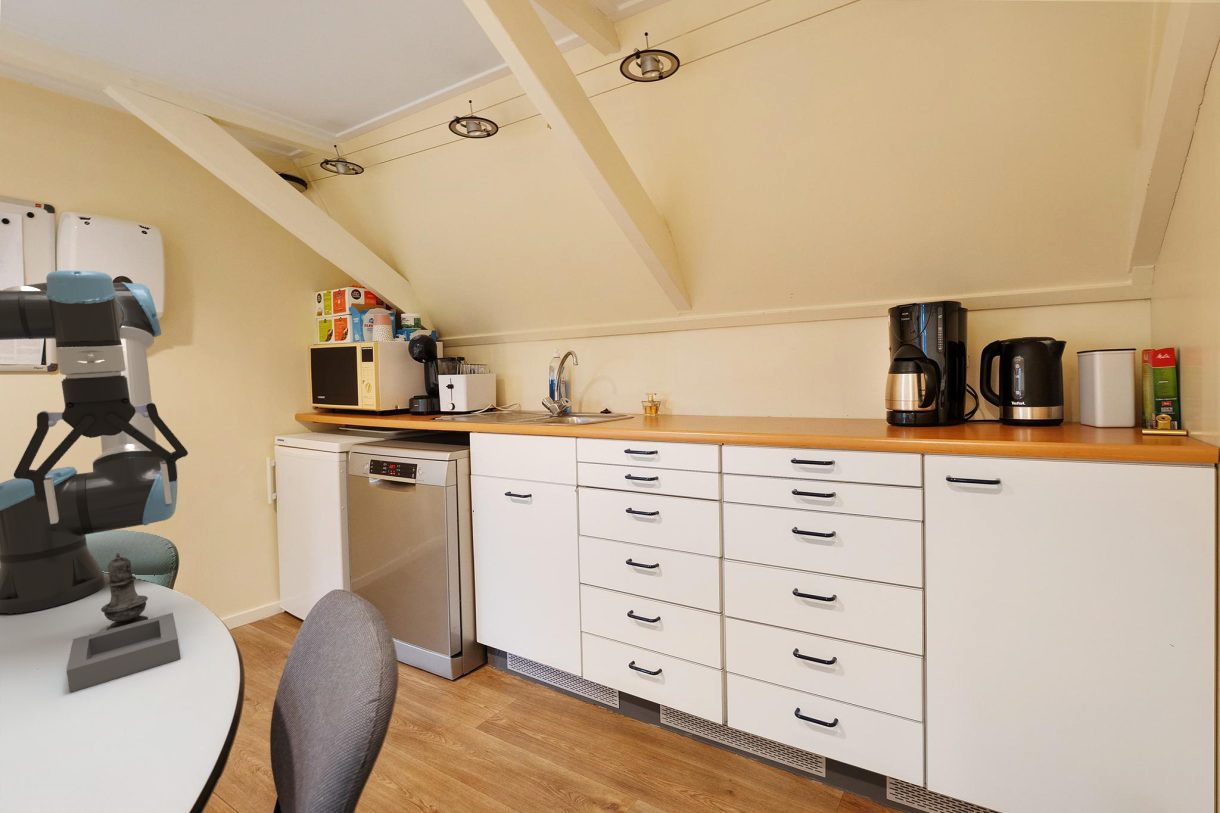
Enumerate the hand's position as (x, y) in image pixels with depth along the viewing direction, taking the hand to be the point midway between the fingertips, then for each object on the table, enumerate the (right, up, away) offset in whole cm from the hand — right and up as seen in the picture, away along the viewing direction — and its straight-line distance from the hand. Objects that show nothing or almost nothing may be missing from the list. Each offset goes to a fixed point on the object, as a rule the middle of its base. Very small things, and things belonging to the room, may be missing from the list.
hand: (114, 511), depth 91 cm
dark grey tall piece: (-1, -19, +4) cm, 20 cm away
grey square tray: (+8, -20, -8) cm, 23 cm away
